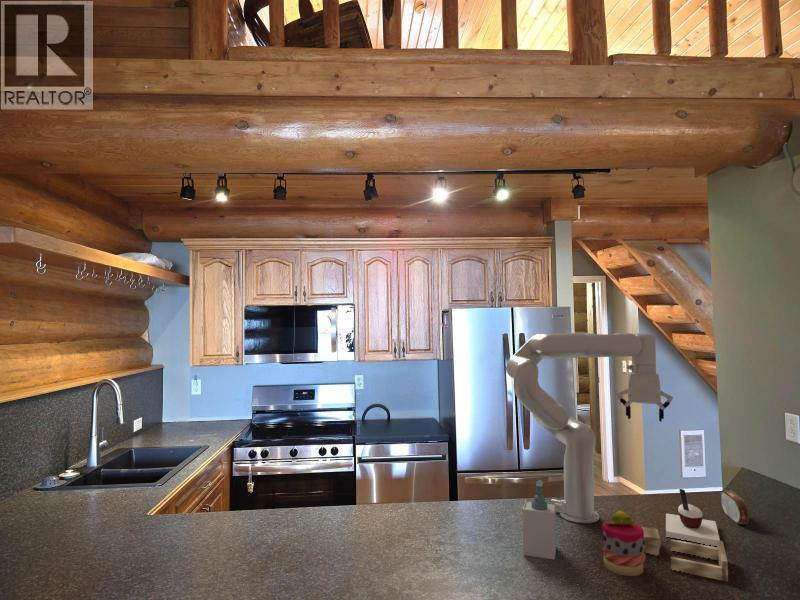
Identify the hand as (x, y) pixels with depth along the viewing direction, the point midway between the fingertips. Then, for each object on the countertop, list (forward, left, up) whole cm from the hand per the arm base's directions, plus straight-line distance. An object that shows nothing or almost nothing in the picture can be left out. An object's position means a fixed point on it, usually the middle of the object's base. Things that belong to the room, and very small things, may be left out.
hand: (644, 419), depth 173 cm
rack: (+14, -32, -32) cm, 47 cm away
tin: (+26, +10, -33) cm, 43 cm away
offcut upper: (+2, -27, -30) cm, 41 cm away
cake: (-4, -43, -32) cm, 54 cm away
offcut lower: (+2, -27, -33) cm, 43 cm away
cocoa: (+13, -9, -31) cm, 34 cm away
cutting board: (+13, -9, -32) cm, 36 cm away
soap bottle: (-26, -44, -32) cm, 61 cm away
